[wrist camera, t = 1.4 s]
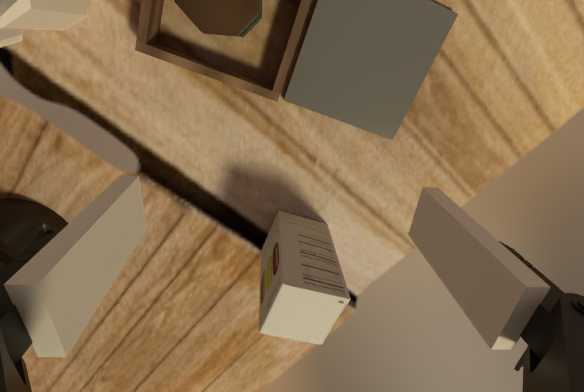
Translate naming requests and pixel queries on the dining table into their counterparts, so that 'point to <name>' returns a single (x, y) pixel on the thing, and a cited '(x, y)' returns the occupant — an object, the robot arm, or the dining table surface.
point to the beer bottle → (223, 15)
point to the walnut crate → (149, 46)
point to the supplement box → (300, 280)
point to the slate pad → (367, 59)
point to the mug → (38, 16)
